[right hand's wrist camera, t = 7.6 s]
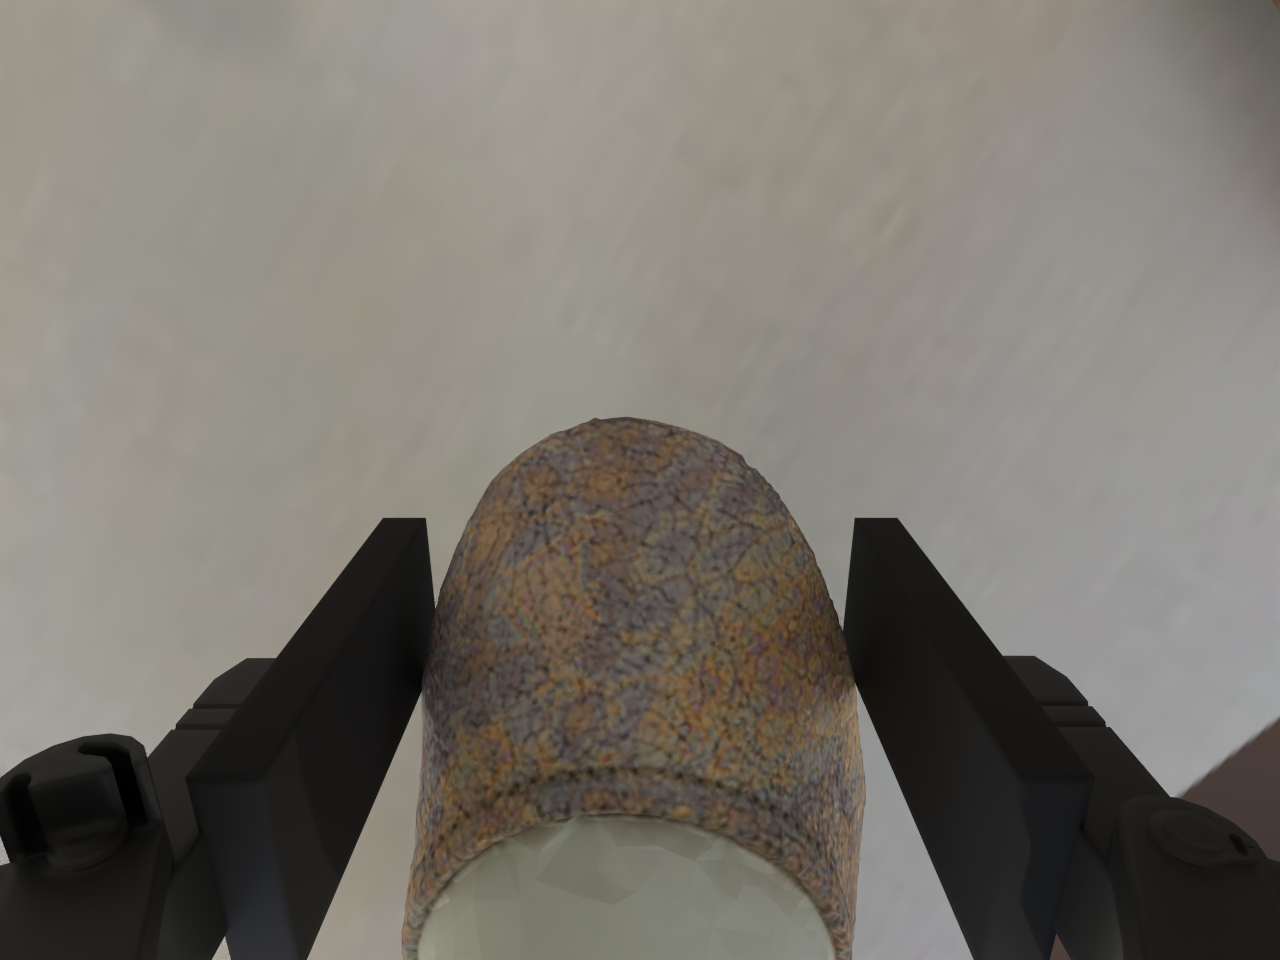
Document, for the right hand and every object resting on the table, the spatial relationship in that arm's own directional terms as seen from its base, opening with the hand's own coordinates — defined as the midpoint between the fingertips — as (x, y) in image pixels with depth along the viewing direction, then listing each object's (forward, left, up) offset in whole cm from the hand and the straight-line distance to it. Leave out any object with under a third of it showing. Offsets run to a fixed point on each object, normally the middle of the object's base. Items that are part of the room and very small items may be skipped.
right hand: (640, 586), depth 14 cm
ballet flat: (+6, +6, -1) cm, 9 cm away
